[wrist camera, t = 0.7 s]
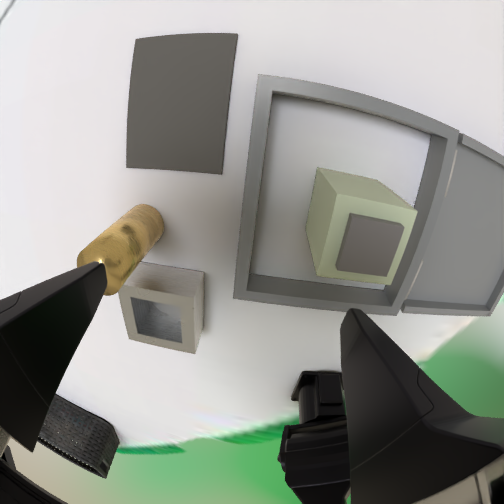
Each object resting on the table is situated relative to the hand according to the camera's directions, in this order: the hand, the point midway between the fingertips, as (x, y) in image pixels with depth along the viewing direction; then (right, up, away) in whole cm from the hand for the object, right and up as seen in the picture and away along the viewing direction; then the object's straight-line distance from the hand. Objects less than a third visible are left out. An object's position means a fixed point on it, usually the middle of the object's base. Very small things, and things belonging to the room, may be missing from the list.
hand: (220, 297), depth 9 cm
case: (+16, +4, +11) cm, 20 cm away
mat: (-5, +13, +8) cm, 16 cm away
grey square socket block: (-7, -3, +17) cm, 19 cm away
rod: (-8, +4, +13) cm, 16 cm away
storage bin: (-47, -41, +41) cm, 74 cm away
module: (+8, +5, +11) cm, 15 cm away
